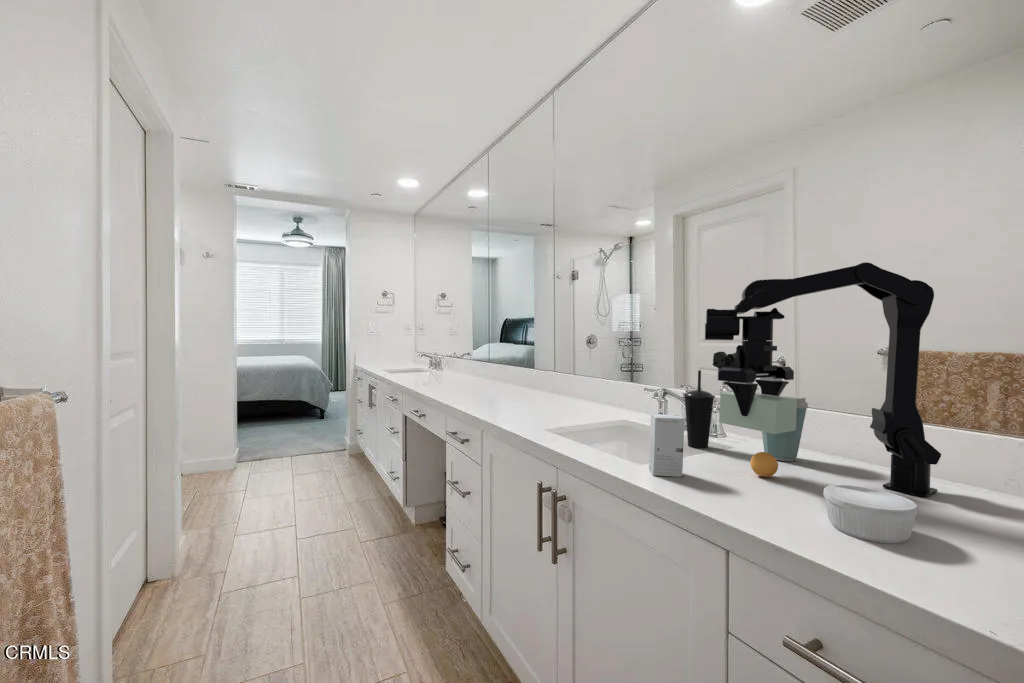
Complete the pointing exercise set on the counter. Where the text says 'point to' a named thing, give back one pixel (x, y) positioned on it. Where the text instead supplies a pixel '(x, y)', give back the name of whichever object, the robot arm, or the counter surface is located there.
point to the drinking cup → (698, 416)
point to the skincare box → (666, 445)
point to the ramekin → (870, 513)
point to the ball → (764, 464)
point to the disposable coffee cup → (786, 436)
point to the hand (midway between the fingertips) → (755, 414)
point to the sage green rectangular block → (760, 413)
